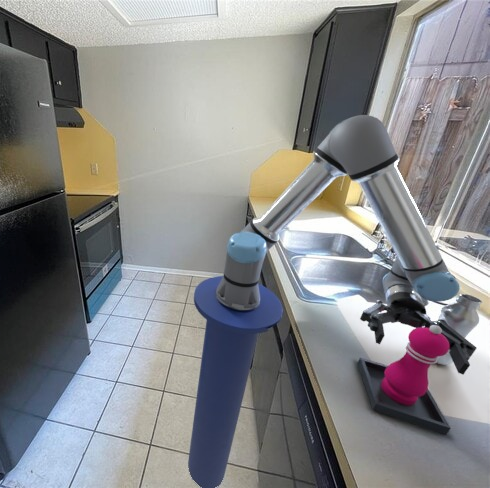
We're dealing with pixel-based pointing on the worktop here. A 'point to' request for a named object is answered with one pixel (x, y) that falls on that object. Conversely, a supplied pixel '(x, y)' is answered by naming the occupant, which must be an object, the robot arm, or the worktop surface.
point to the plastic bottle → (460, 319)
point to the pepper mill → (414, 365)
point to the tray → (418, 413)
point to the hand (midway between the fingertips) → (419, 353)
